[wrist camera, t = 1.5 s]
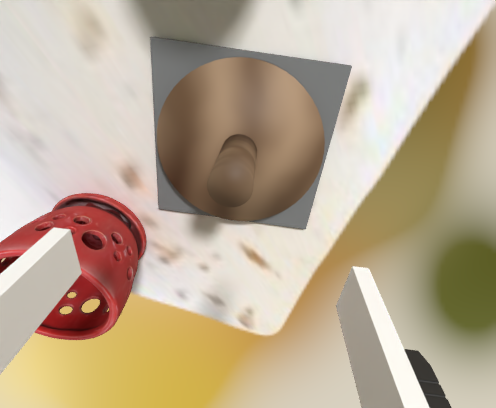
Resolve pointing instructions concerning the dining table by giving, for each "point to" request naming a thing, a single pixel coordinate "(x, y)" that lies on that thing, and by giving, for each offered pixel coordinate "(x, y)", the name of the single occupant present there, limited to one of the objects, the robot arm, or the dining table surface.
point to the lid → (240, 139)
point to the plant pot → (87, 261)
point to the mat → (303, 70)
